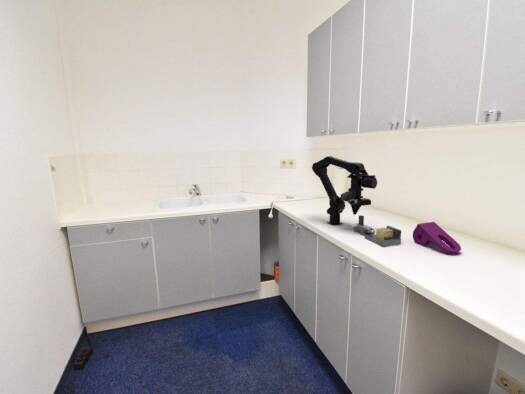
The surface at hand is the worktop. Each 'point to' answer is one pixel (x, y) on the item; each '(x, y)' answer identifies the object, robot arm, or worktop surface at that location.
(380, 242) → the frame
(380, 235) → the block
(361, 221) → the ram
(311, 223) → the worktop surface
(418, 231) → the mounting bracket
